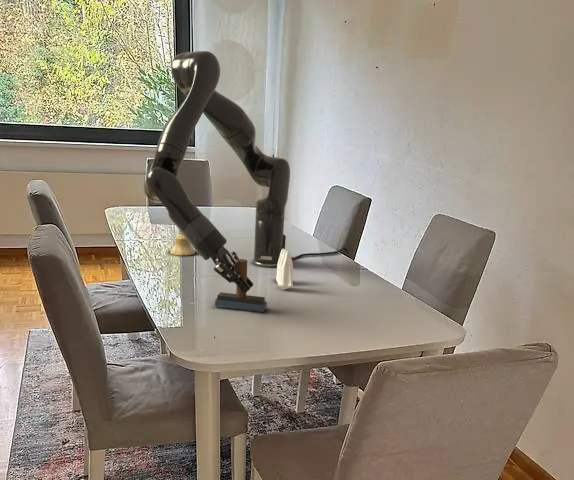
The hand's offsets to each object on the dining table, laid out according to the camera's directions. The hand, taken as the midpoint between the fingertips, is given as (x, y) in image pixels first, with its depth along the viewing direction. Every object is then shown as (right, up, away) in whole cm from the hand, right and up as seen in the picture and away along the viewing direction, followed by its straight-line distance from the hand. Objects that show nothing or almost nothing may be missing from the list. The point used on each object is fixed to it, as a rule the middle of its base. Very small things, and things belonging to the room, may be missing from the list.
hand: (249, 288), depth 163 cm
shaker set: (+9, +4, +23) cm, 25 cm away
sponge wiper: (-2, -5, +3) cm, 6 cm away
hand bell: (-25, +20, +50) cm, 60 cm away
